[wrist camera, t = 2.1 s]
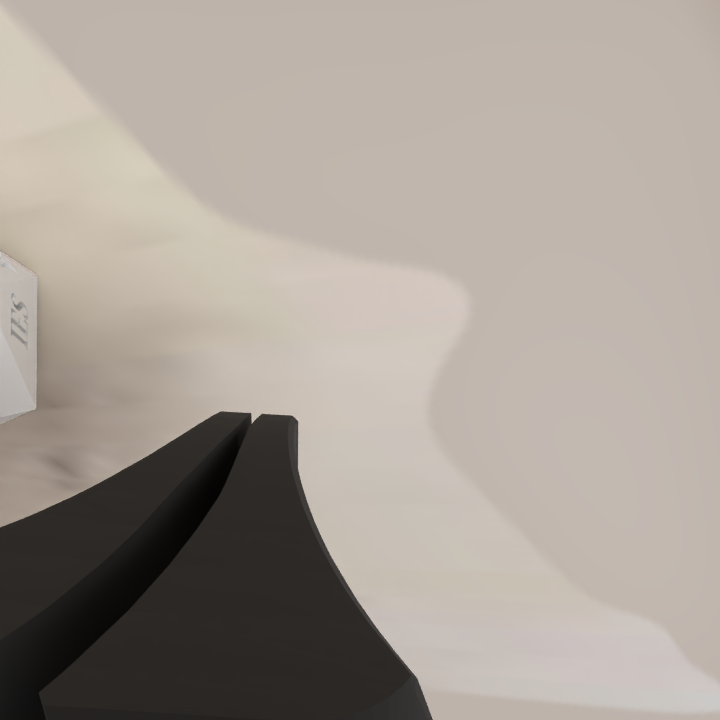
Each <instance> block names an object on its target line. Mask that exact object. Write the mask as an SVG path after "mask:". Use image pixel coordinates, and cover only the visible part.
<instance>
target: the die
mask: <svg viewBox="0 0 720 720" xmlns="http://www.w3.org/2000/svg"><path fill="white" fill-rule="evenodd" d="M37 287H38V275H36V274H34V273H33V272H31V271H30V270H28V269H27V268H25V267H24V266H22V265H21V264H19V263H18V262H16V261H15V260H13V259H12V258H10V257H9V256H7V255H6V254H4V253H3V252H1V251H0V424H2V423H4V422H7V421H9V420H12V419H14V418H16V417H19V416H21V415H23V414H26V413H28V412H30V411H33V410H35V409H36V386H37Z"/></svg>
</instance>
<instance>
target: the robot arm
mask: <svg viewBox="0 0 720 720" xmlns="http://www.w3.org/2000/svg"><path fill="white" fill-rule="evenodd" d="M0 720H433V719H432V717H431V714H430V712H429V709H428V706H427V703H426V701H425V698H424V695H423V693H422V690H421V687H420V685H419V682H418V679H417V678H416V676H415V675H414V674H413V673H412V672H411V670H410V669H409V668H408V667H407V666H406V664H405V663H404V662H403V661H402V660H401V658H400V657H399V656H398V655H397V654H396V652H395V651H394V650H393V649H392V647H391V646H390V645H389V643H388V642H387V641H386V639H385V638H384V637H383V636H382V634H381V633H380V632H379V630H378V629H377V628H376V626H375V625H374V624H373V622H372V621H371V619H370V618H369V616H368V615H367V614H366V612H365V611H364V609H363V608H362V607H361V605H360V604H359V602H358V601H357V599H356V598H355V596H354V594H353V593H352V591H351V589H350V588H349V586H348V584H347V583H346V581H345V579H344V578H343V576H342V574H341V573H340V571H339V569H338V568H337V566H336V564H335V563H334V561H333V559H332V558H331V556H330V554H329V552H328V550H327V548H326V546H325V544H324V542H323V539H322V537H321V535H320V533H319V531H318V528H317V526H316V524H315V522H314V519H313V517H312V514H311V511H310V509H309V506H308V503H307V500H306V497H305V494H304V491H303V487H302V484H301V480H300V476H299V472H298V421H297V420H296V419H295V418H294V417H293V416H288V415H271V414H261V415H260V416H259V417H258V418H257V419H256V420H255V421H254V422H253V423H252V422H251V413H237V412H219V413H217V414H215V415H213V416H211V417H210V418H208V419H206V420H205V421H203V422H202V423H200V424H198V425H197V426H195V427H194V428H192V429H190V430H189V431H187V432H186V433H184V434H183V435H181V436H179V437H178V438H176V439H175V440H173V441H171V442H170V443H168V444H167V445H165V446H163V447H162V448H160V449H158V450H157V451H155V452H154V453H152V454H150V455H149V456H147V457H145V458H143V459H142V460H140V461H138V462H136V463H135V464H133V465H131V466H129V467H127V468H126V469H124V470H122V471H120V472H119V473H117V474H115V475H113V476H111V477H110V478H108V479H106V480H104V481H102V482H101V483H99V484H97V485H95V486H93V487H91V488H89V489H87V490H85V491H83V492H81V493H79V494H77V495H75V496H73V497H71V498H68V499H66V500H64V501H62V502H60V503H58V504H55V505H53V506H51V507H49V508H47V509H44V510H42V511H40V512H38V513H35V514H33V515H31V516H28V517H26V518H24V519H21V520H19V521H16V522H13V523H11V524H8V525H6V526H3V527H0Z"/></svg>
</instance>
